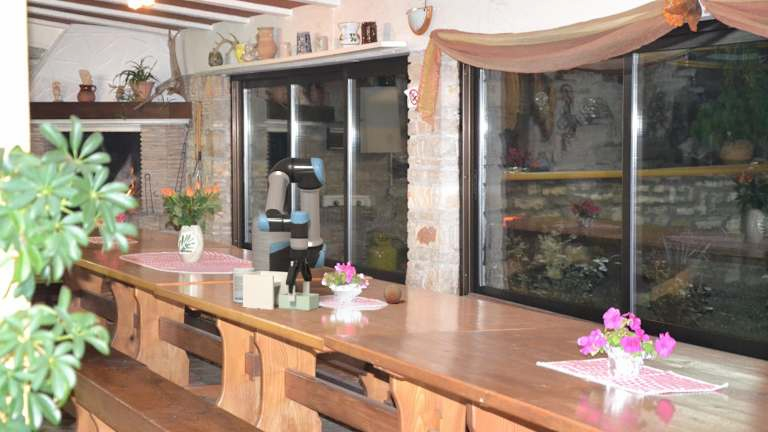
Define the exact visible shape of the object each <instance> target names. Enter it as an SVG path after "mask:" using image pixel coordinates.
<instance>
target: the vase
mask: <svg viewBox="0 0 768 432" xmlns="http://www.w3.org/2000/svg"><path fill="white" fill-rule="evenodd" d="M260 214H265V211H259V212H258V213H257V216H256V217H254V218H253V219H252V225H251V227H252V228H251V229H252V230H251V231H252V233H251V258H252V259H251V263H252V264H251V265H252V267H251V268H254V269H255V272H256V271H269V248H270V245H271V244H272V243H275V242H280V241H290V240H291V232H263V231H260V230H259V228H258V217H259V215H260ZM282 214H285V215H286V212H284V211H283V213H282Z"/></svg>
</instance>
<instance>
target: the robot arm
mask: <svg viewBox="0 0 768 432" xmlns="http://www.w3.org/2000/svg"><path fill="white" fill-rule="evenodd" d="M267 178H268V184H269V186H268V191H267V198H266V203H265V208H264V209H265V210H264V212H265V214H260V215H259V217H258V216H257V217H258V228H259V230H260V231H263V232H291V240H290V241H280V242H275V243H272V244H271V245H270V248H269V271H275V272H288V274H287V279H286V285H289V290H288V301H295V292H297V291H298V283H297V278H298V275H299V273H301V276H302V278H303V282H302V293H311V292H310V289H311V288H310V286H311V285H310V284H311V283H310V282H313V275H312V270H314V269H322V268H323V267H324V264H325V260H326V259H325V258H326V251H327V244H326V243H324V240H323V238H322V237H321V234H320V233H321V232H320V231H321V230H320V227H321V226H320V223H321V221H320V190H321V189H322V188H323V184H325V183H326V170H325V165H324V161H323V159H321V158H319V157H314V156H313V157H286V158H283V159H281V160H279V161H278V162H277V163H275V164H274V166H273V167H272V168H271V169H270V171H269V174H268V177H267ZM289 184H296V188H297V189H298V190H299V191H300V193H299V194H300V210H297V211H295V210H294V211H291V213H290V214H286V213H285V214H282V213H283V212H284V205H285V201H286V199H285V198H286V191H287V187H288V186H289Z"/></svg>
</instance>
